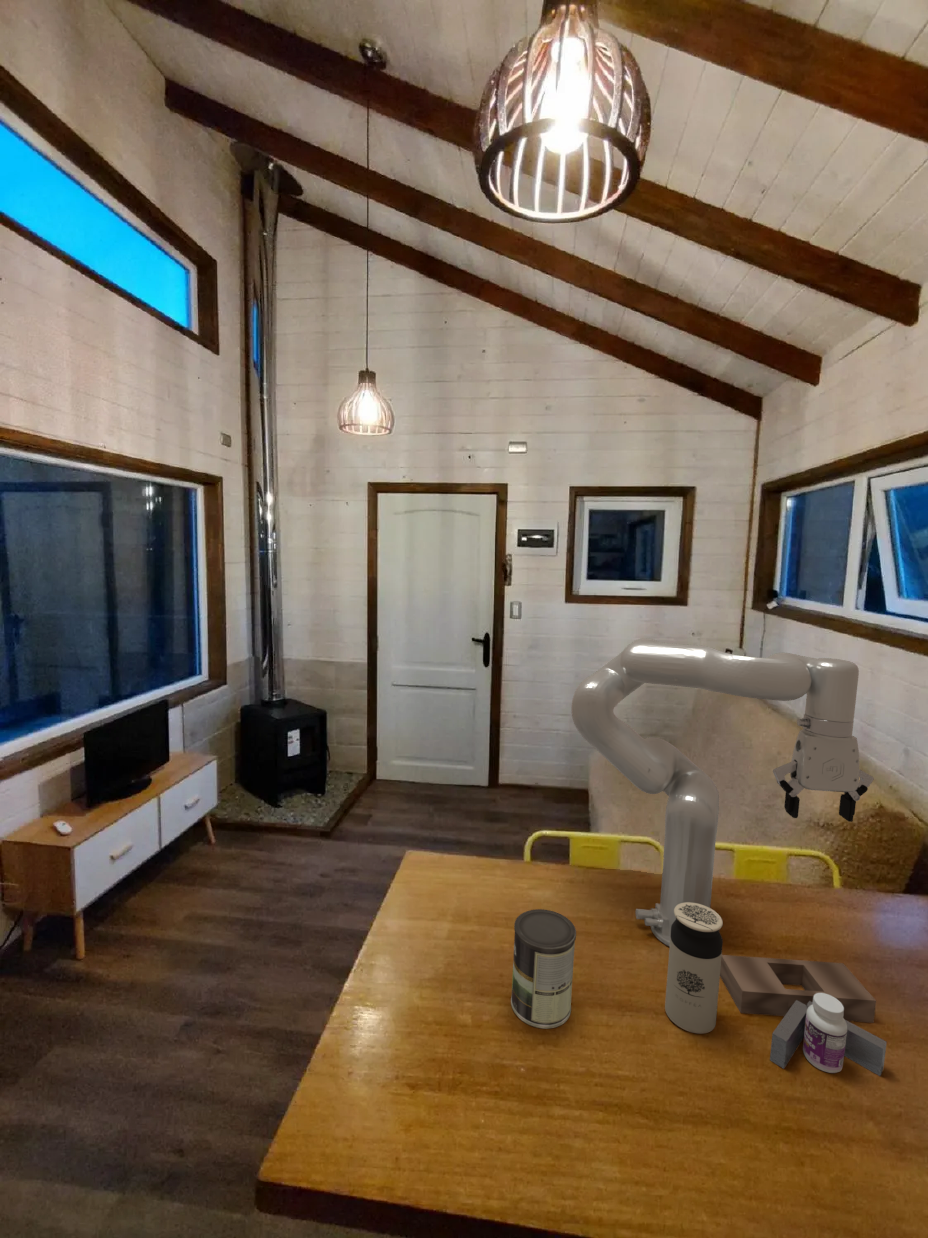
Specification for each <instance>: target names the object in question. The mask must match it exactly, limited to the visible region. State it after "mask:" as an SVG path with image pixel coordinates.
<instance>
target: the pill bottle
mask: <svg viewBox="0 0 928 1238" xmlns="http://www.w3.org/2000/svg"><path fill="white" fill-rule="evenodd" d="M843 1016H844V1007H843V1005H842V1003H841V1002H840V1001H839V1000H837V999H836V998H834V997H833V996H831V995H828V994H825V993H816V994H815V995H814V997H813V1004H812V1005H810V1006H809V1007H808V1009H807V1012H806V1021H805V1031H804V1038H803V1040H802V1041H803V1043H802V1051H803V1052H802V1053H803V1055H804V1057H805V1058H806V1059H807V1062H809V1063H810V1064H811V1065H812V1066H813V1067H815V1068H816V1069H818V1070H820V1071H822V1072H825V1073H827V1074H828V1073H830V1074H837V1073H839V1072H841V1071H842V1069H843V1066H844V1058H845V1056H844V1053H845V1044H846V1035H847V1024H846V1021H845V1019H844V1018H843Z"/></svg>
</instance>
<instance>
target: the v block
mask: <svg viewBox="0 0 928 1238" xmlns="http://www.w3.org/2000/svg"><path fill="white" fill-rule="evenodd" d="M812 1004H813V1002H811V1001H809V1002H808V1004H807V1005H805V1004H803V1003H801V1002H799V1001H798V1000H796V1001H795V1002H794V1004H793V1005H792V1007H791V1008H790V1009H789V1011H788V1012H787V1014H786V1015H785V1016H783V1018H782V1019H781V1020H780V1022H779V1023H778V1024H777V1027H776V1028H775V1029H774V1030H773V1032H772V1035H771V1045H770V1055H769V1061H771V1062H772V1063H773V1064H775V1065H777V1066H778V1067H780V1068H782V1069H785V1068H786V1067H787V1066H788V1064H789V1062H790V1060H791V1059H792V1057H793V1056H794V1054H795V1052H796V1051H797V1049H798V1047H799V1046H800V1045H801V1043H802V1041H804V1031H805V1021H806V1012H807V1009H808V1007H809V1006H810V1005H812ZM845 1021H846V1024H847V1035H846V1044H845V1053H844V1058H845V1057H846V1058H847V1059H849V1060H851V1061H853V1062H854V1063H855V1064H857V1065H859V1066H861V1067H863V1068H864V1069H866V1070H869V1071H870V1072H872V1073H873V1074H875V1075H877V1076H879V1077H881V1075H882V1074H883V1071H884V1068H885V1067H884V1066H885V1060H886V1059H885V1058H886V1050H887V1043H888V1042H887V1041H886V1040H884V1039H883V1038H880V1037H878V1036H877V1035H875V1034H873V1033H871V1032H870V1031H867V1030H865V1029H864V1028H862V1027H859V1026H858V1025H856V1024H854V1023H852V1022H851V1021H847V1020H845Z"/></svg>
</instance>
